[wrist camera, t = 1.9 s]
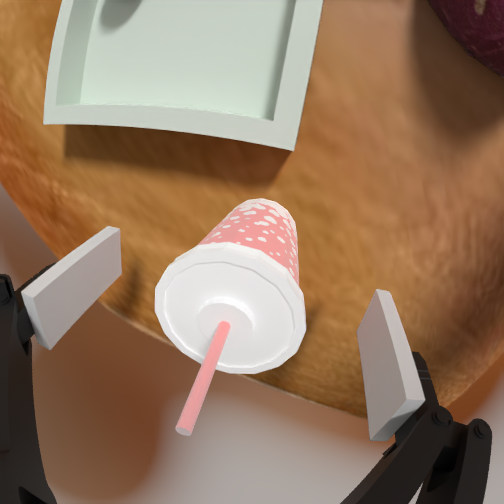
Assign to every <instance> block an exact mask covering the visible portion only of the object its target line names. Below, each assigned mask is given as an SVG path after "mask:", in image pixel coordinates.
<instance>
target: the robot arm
mask: <svg viewBox="0 0 504 504" xmlns="http://www.w3.org/2000/svg"><path fill="white" fill-rule="evenodd" d="M121 274H122V269H121V248H120V229H118V228H114V227H110V226H108V227H106V228H105V229H103V230H102V231H100V232H99V233H97V234H96V235H95V236H93V237H92V238H90V239H89V240H87V241H86V242H85V243H83V244H82V245H81V246H79V247H78V248H76V249H75V250H74V251H72V252H71V253H70V254H68V255H67V256H66V257H64V258H63V259H62V260H60V261H59V262H58V263H53V264H51V265H49V266H46V267H45V268H44V269H42V270H41V271H40V272H39V274H36V275H35V276H33V278H31V279H30V280H28V281H27V282H26V283H25V284H23V285H22V286H21V287H20V288H18V289H17V290H16V291H15V292H14V289H13V285H12V281H11V278H10V277H9V275H6V274H0V504H57V502H56V499H55V497H54V495H53V493H52V491H51V489H50V488H49V486H48V484H47V481H46V478H45V474H44V469H43V465H42V460H41V454H40V448H39V442H38V435H37V428H36V420H35V410H34V399H33V385H32V384H33V383H32V343H31V339H30V338H31V337H32V335H33V334H35V336H36V339H37V342H38V344H40V345H42V346H43V347H45V348H47V349H49V350H51V349H52V348H53V346H54V345H55V344H56V343H57V342H58V341H59V340H60V338H61V337H62V336H63V335H64V334H65V333H66V332H67V331H68V330H69V328H70V327H71V326H72V325H73V324H74V323H75V322H76V321H77V320H78V319H79V318H80V316H81V315H82V314H83V313H84V312H85V311H86V310H87V309H88V308H89V307H90V306H91V305H92V304H93V303H94V301H96V300H97V299H98V298H99V296H100V295H101V294H102V293H103V292H104V291H105V290H106V289H107V288H108V287H109V286H110V285H111V284H112V283H113V282H114V281H115V280H116V279H117V278H118V277H119V276H120V275H121ZM357 338H358V344H359V350H360V357H361V364H362V372H363V379H364V387H365V396H366V405H367V415H368V424H369V438H370V441H387V440H389V439H390V438H391V437H392V436H393V434H395V439H396V442H395V443H394V444H393V445H392V446H391V447H390V448H388V449H387V450H386V451H385V452H384V453H383V455H384V456H383V457H382V458H381V460H380V461H379V462H378V463H377V464H376V466H375V467H374V468H373V469H372V470H371V472H370V473H369V474H368V475H367V476H366V477H365V478H364V479H363V480H362V482H361V483H360V484H359V485H358V486H357V487H356V488H355V489H354V490H353V491H352V492H351V493H350V494H349V496H347V497H346V498H345V499H344V500H343V501H342V502H341V503H340V504H408V503H409V502H410V501H411V499H412V498H413V496H414V495H415V493H416V492H417V490H418V489H419V487H420V486H421V484H422V483H423V485H422V488H421V490H420V493H419V496H418V499H417V501H416V504H483V500H484V495H485V489H486V484H487V478H488V471H489V464H490V455H491V444H492V431H491V429H490V426H489V425H488V424H487V423H486V422H485V421H484V420H482V419H473V420H472V421H471V422H470V423H469V424H468V425H464V424H461V423H458V422H455V421H453V417H452V415H451V414H450V412H449V411H448V410H447V409H446V408H444V407H442V406H439V403H438V400H437V396H436V393H435V390H434V386H433V383H432V380H430V379H431V377H430V374H429V372H428V368H427V365H426V362H425V360H424V359H423V358H422V356H421V355H420V354H419V352H412V351H411V350H410V347H409V344H408V341H407V338H406V335H405V332H404V329H403V326H402V323H401V320H400V318H399V315H398V312H397V309H396V307H395V304H394V301H393V299H392V296H391V294H390V292H388V291H384V290H379V289H376V290H375V293H374V295H373V297H372V299H371V302H370V304H369V306H368V308H367V311H366V313H365V315H364V317H363V319H362V321H361V323H360V325H359V327H358V330H357ZM423 481H424V482H423Z"/></svg>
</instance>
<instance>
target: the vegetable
mask: <svg viewBox="0 0 504 504" xmlns="http://www.w3.org/2000/svg"><path fill="white" fill-rule="evenodd" d="M428 2H429V3H430V4H431V6H432V7H433V9H434V11H435V12H436V14H437V15H438V17H439V18H440V19H441V21H442V22H443V24H444V25H445V27H446V28H447V30H448V31H449V32H450V34H451V35H452V36H453V37H454V38H455V39H456V41H458V42H459V43H460V45H461V46H462V47H464V48H465V50H466V52H467V54H468V55H469V56H472V57H475V58H476V59H477V60H478V61H480V62H481V63H482V64H483V65H485V66H487V67H488V68H489V69H491V70H492V71H493V72H495V73H497V74H498V75H500V76H501V77H503V78H504V0H428Z"/></svg>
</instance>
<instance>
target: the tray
mask: <svg viewBox="0 0 504 504" xmlns="http://www.w3.org/2000/svg"><path fill="white" fill-rule="evenodd" d="M323 3H324V0H62V4H61V8H60V11H59V15H58V20H57V24H56V28H55V33H54V38H53V43H52V49H51V54H50V61H49V68H48V75H47V83H46V93H45V105H44V122H43V124H87V125H111V126H127V127H140V128H151V129H161V130H171V131H179V132H188V133H195V134H202V135H209V136H216V137H222V138H229V139H235V140H240V141H246V142H252V143H257V144H262V145H267V146H272V147H277V148H282V149H286V150H291V151H294V149H295V146H296V143H297V138H298V133H299V129H300V124H301V119H302V114H303V109H304V104H305V99H306V94H307V89H308V84H309V79H310V73H311V68H312V63H313V58H314V53H315V47H316V42H317V37H318V31H319V26H320V20H321V15H322V9H323Z"/></svg>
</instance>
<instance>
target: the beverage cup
mask: <svg viewBox="0 0 504 504" xmlns="http://www.w3.org/2000/svg"><path fill="white" fill-rule="evenodd" d="M155 312H156V315H157V317H158V319H159V322H160V324H161V326H162V329H163V331H164V333H165V334H166V335H167V337H168V338H169V339H170V340H171V341H172V342H173V343H174V344H175V345H176V346H177V348H178V349H179V350H180V351H181V352H182V353H184V354H186V355H187V356H189V357H190V358H192V359H194V360H195V361H197V362H199V363H200V364H202V365H201V368H200V370H199V372H198V375H197V377H196V380H195V382H194V384H193V387H192V389H191V392H190V394H189V397H188V399H187V401H186V404H185V406H184V408H183V411H182V413H181V416H180V418H179V421H178V423H177V425H176V428H175V430H176V431H177V432H178V433H180V434H182V435H185V436H190V435H191V434H192V431H193V429H194V426H195V423H196V420H197V418H198V415H199V412H200V410H201V407H202V404H203V401H204V399H205V396H206V393H207V391H208V388H209V385H210V383H211V380H212V377H213V374H214V372H215V369H216V370H220V371H223V372H227V373H240V374H256V373H259V372H263V371H266V370H269V369H273V368H276V367H279V366H280V365H281V364H283V363H284V362H285V361H286V360H288V359H289V358H290V357H291V356H293V355H294V354H295V353H296V352H297V350H298V348H299V346H300V343H301V341H302V339H303V337H304V334H305V332H306V320H305V319H306V315H305V306H304V297H303V293H302V291H301V289H300V288H299V271H298V247H297V232H296V225H295V222H294V220H293V218H292V217H291V215H290V213H289V212H288V210H286V209H285V208H283V207H282V206H281V205H279V204H278V203H277V202H274V201H270V200H266V199H262V198H261V199H253V200H247V201H245V202H244V203H242V204H240V205H239V206H237V207H235V208H234V209H233V210H232V211H231V212H230V213H229V214H228V215H227V216H226V217H225V218H224V219H223V220H222V221H221V222H220V223H219V224H218V225H217V226H216V227H215V228H214V229H213V230H212V231H211V232H210V233H209V234H208V235H207V236H206V237H205V238H204V239H203V240H202V241H201V242H200V243H199V244H198V245H197V246H196V247H194V248H193V249H191V250H189V251H187V252H186V253H184V254H182V255H181V256H179V257H177V258H176V259H175V261H174V262H173V263H171V264H170V265H169V266H168V267H167V269H166V270H165V272H164V274H163V276H162V277H161V279H160V281H159V283H158V284H157V286H156V288H155Z"/></svg>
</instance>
